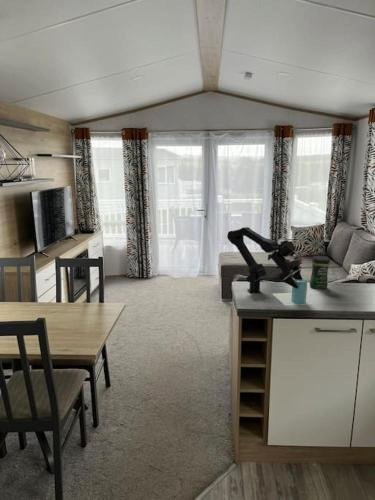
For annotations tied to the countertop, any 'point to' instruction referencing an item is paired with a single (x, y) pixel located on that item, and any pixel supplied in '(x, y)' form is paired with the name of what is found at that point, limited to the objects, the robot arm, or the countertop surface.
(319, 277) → the coffee jar
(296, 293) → the teal rounded cylinder
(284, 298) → the sage mat
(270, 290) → the countertop surface
